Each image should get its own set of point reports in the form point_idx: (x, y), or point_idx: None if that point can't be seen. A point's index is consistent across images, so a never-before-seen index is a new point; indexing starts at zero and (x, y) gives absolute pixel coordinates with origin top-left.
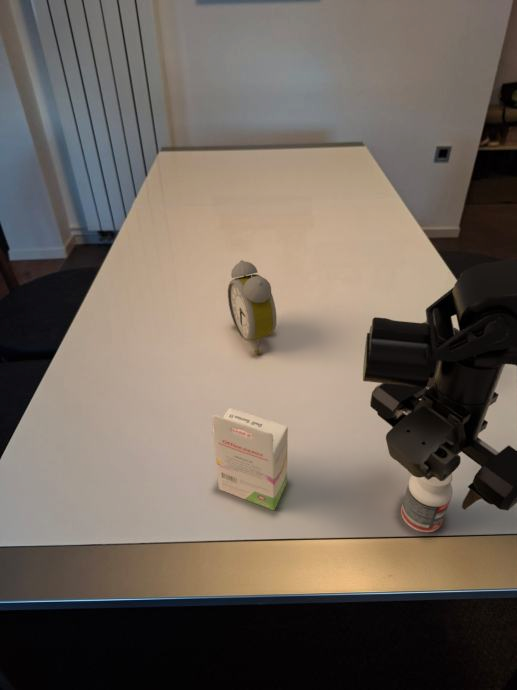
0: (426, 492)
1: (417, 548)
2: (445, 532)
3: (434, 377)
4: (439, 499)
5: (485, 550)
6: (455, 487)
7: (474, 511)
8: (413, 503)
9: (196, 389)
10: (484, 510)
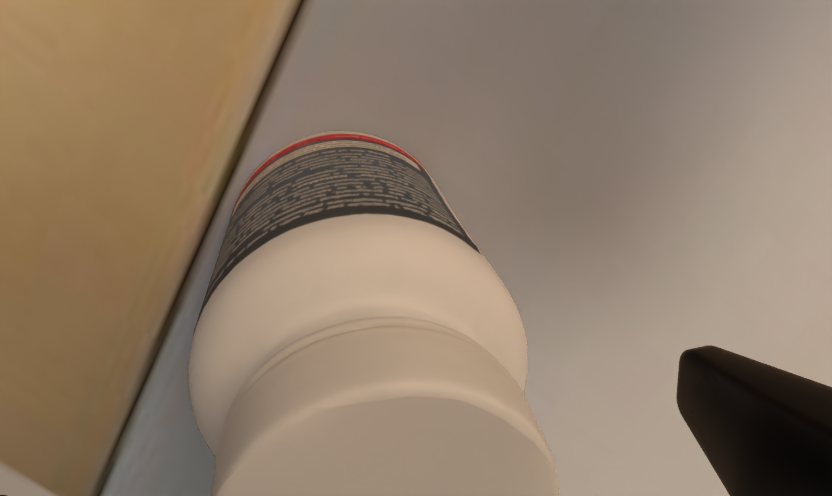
0: (309, 322)
1: (182, 87)
2: (208, 278)
3: None
4: (210, 375)
5: (51, 380)
6: None
7: None
8: (337, 190)
9: None
10: None
